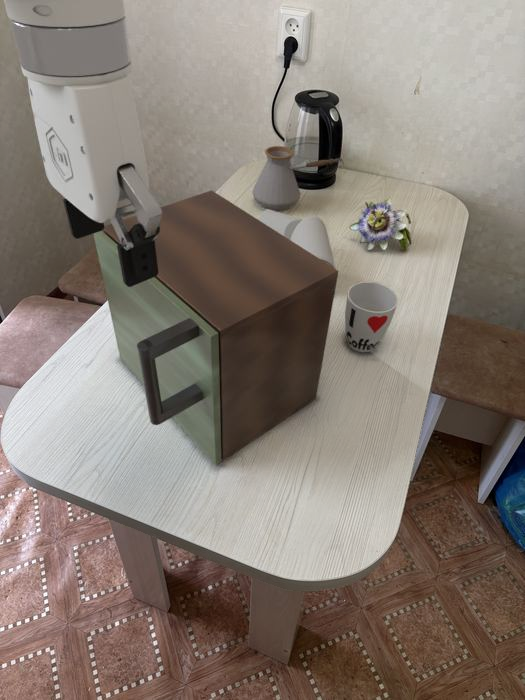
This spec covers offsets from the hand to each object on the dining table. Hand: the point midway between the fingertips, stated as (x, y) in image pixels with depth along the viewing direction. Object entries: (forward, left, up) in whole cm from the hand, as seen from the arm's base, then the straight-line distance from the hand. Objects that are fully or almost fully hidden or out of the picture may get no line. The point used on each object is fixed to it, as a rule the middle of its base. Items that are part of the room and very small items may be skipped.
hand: (113, 255), depth 47 cm
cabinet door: (+1, +7, -32) cm, 33 cm away
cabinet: (+14, +10, -32) cm, 37 cm away
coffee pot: (+51, +54, -33) cm, 81 cm away
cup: (+40, +8, -33) cm, 52 cm away
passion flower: (+62, +34, -33) cm, 78 cm away
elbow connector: (+40, +32, -33) cm, 61 cm away
